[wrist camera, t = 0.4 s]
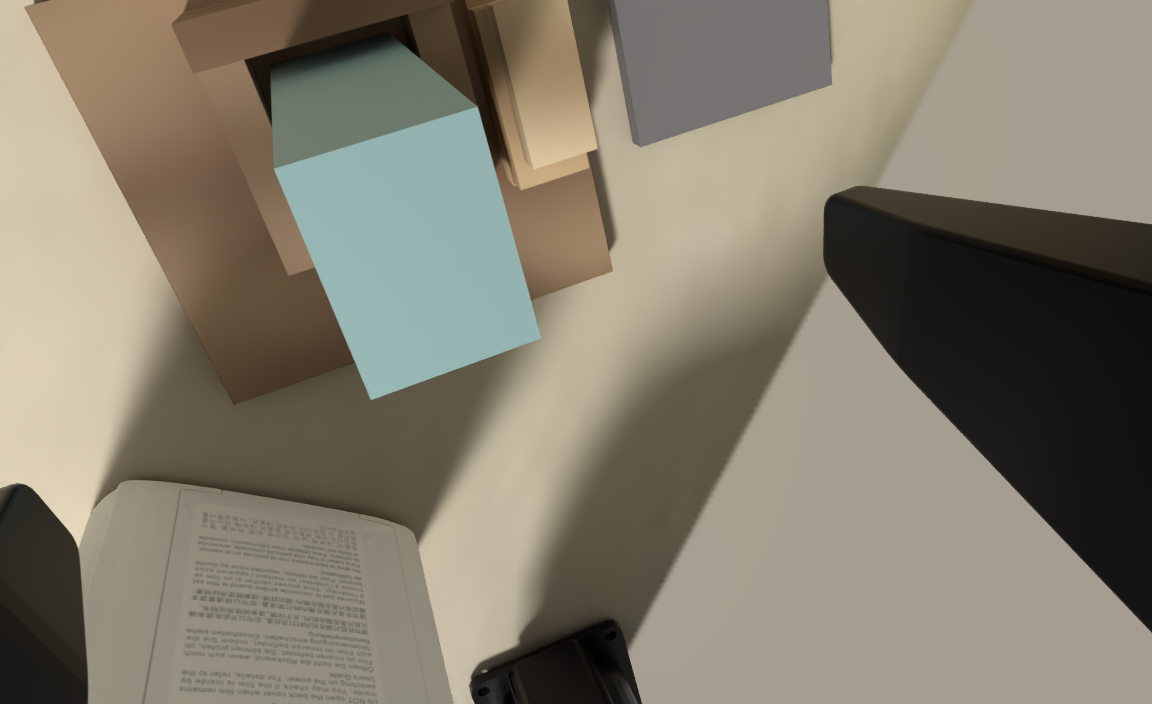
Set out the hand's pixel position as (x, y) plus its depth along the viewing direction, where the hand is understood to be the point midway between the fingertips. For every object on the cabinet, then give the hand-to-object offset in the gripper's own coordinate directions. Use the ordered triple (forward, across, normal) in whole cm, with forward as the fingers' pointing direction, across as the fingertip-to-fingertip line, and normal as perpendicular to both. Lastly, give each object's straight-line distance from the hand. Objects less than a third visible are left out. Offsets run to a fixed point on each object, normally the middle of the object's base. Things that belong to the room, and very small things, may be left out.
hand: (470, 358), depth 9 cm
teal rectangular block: (+14, 0, +2) cm, 15 cm away
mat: (+15, -11, +1) cm, 19 cm away
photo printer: (+14, +8, +14) cm, 21 cm away
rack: (+15, 0, +3) cm, 16 cm away
